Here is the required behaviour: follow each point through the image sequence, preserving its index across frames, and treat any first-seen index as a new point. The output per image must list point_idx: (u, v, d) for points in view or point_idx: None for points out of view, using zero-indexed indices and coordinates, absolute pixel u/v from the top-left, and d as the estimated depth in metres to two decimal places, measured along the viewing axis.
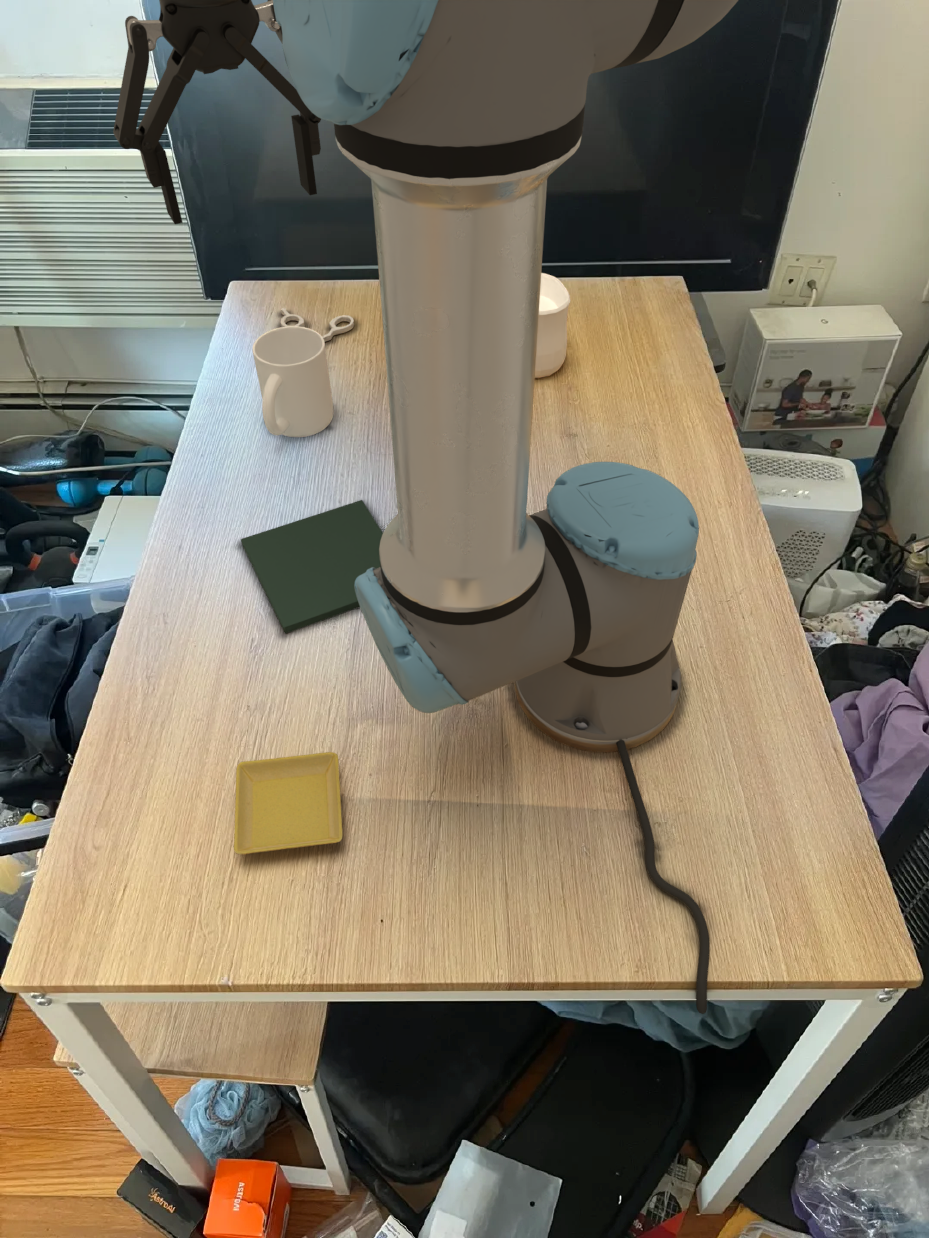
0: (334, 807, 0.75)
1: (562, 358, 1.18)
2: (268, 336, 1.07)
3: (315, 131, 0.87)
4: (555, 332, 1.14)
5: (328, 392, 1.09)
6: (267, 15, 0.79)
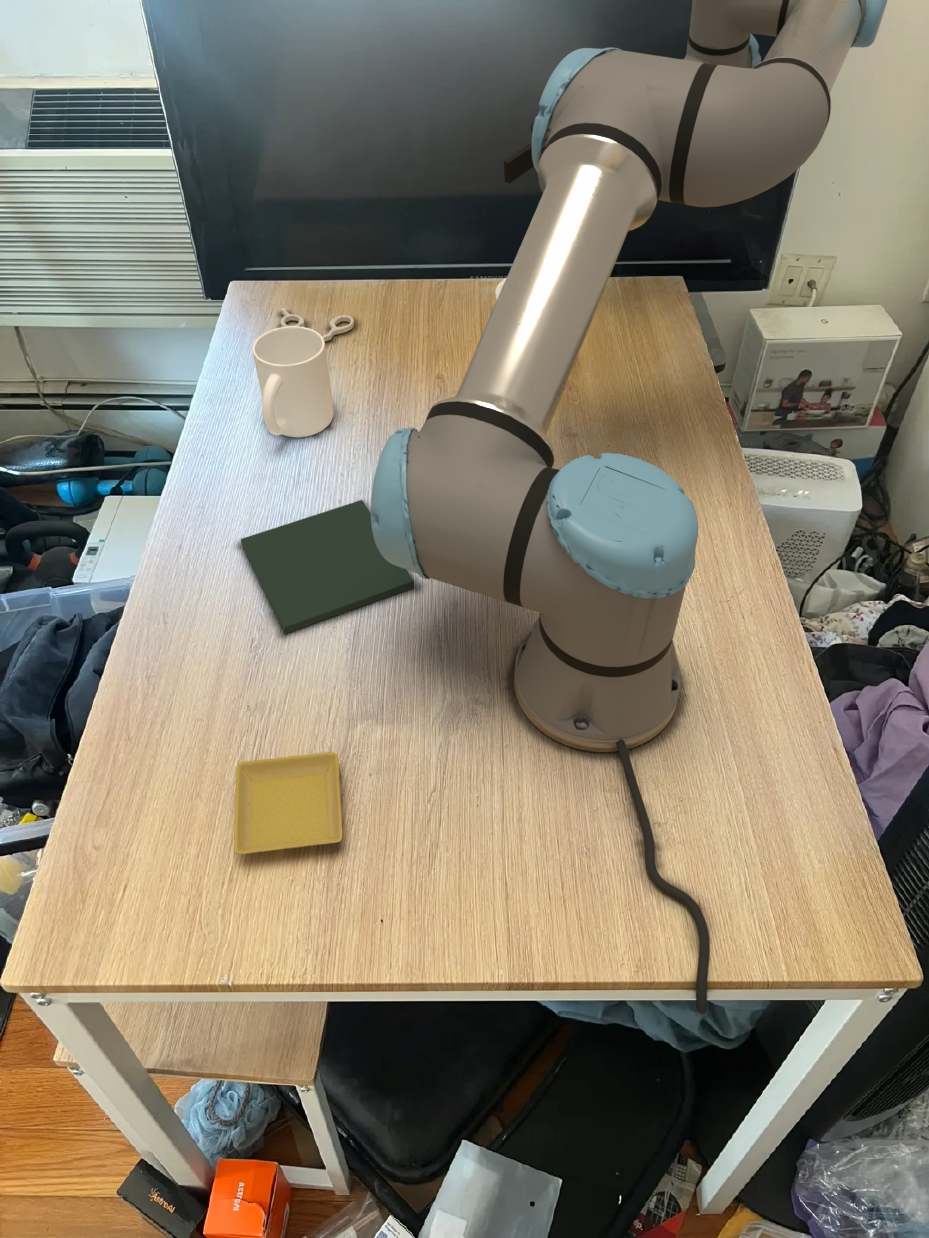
0: (334, 807, 0.75)
1: None
2: (268, 336, 1.07)
3: None
4: None
5: (328, 392, 1.09)
6: None
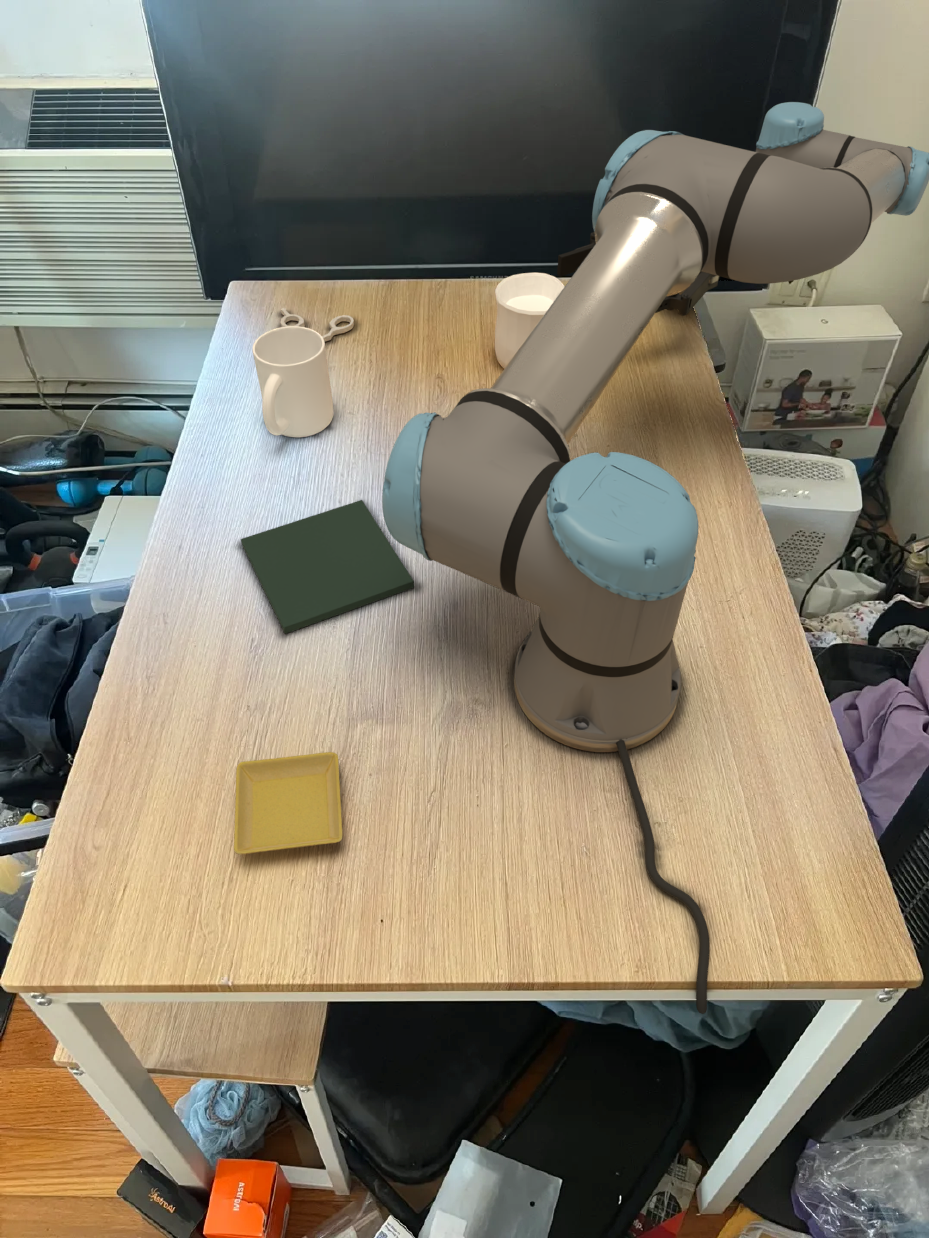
0: (334, 807, 0.75)
1: None
2: (268, 336, 1.07)
3: (663, 299, 1.15)
4: None
5: (328, 392, 1.09)
6: None
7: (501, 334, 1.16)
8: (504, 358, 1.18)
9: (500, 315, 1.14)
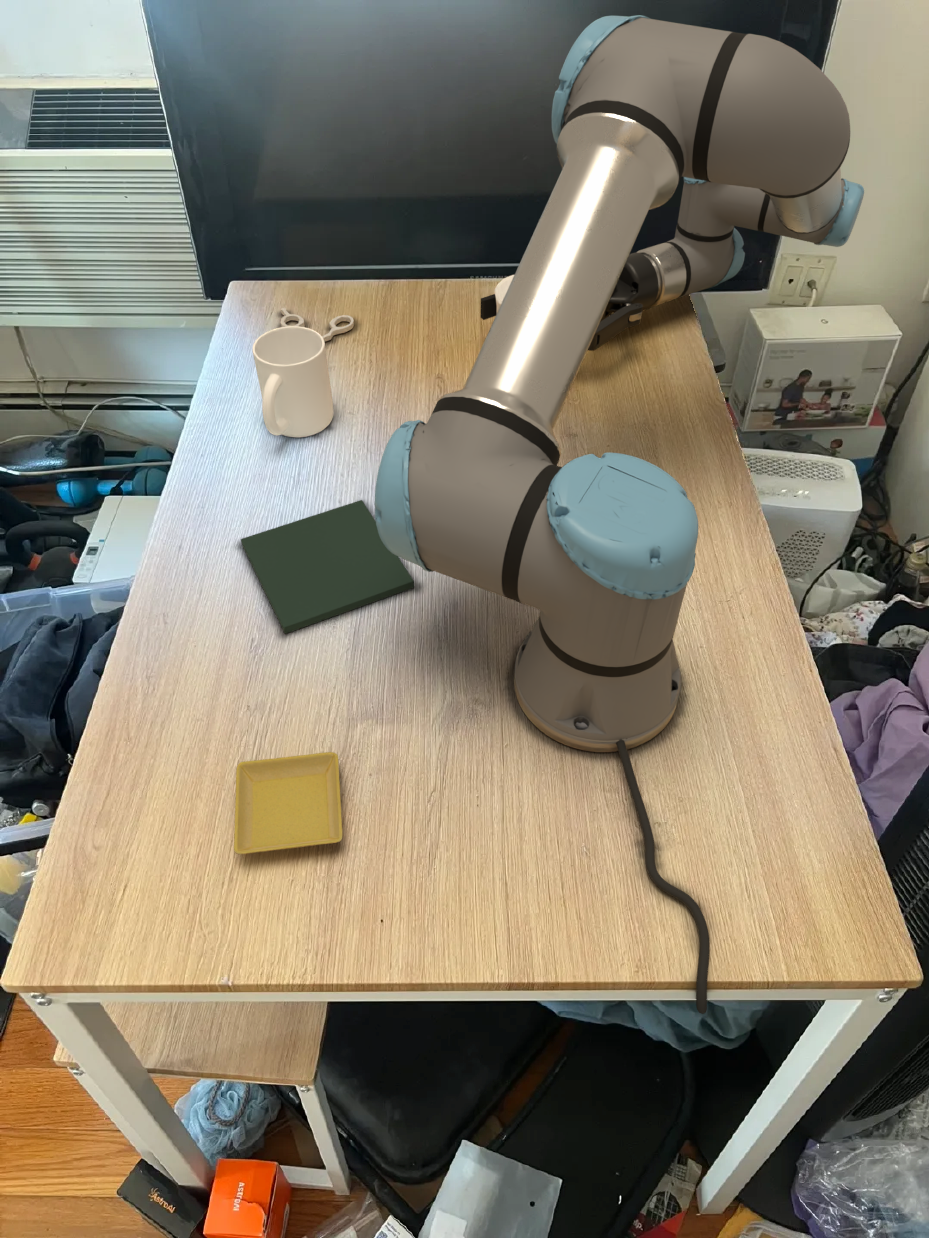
0: (334, 807, 0.75)
1: None
2: (268, 336, 1.07)
3: None
4: None
5: (328, 392, 1.09)
6: None
7: None
8: None
9: None
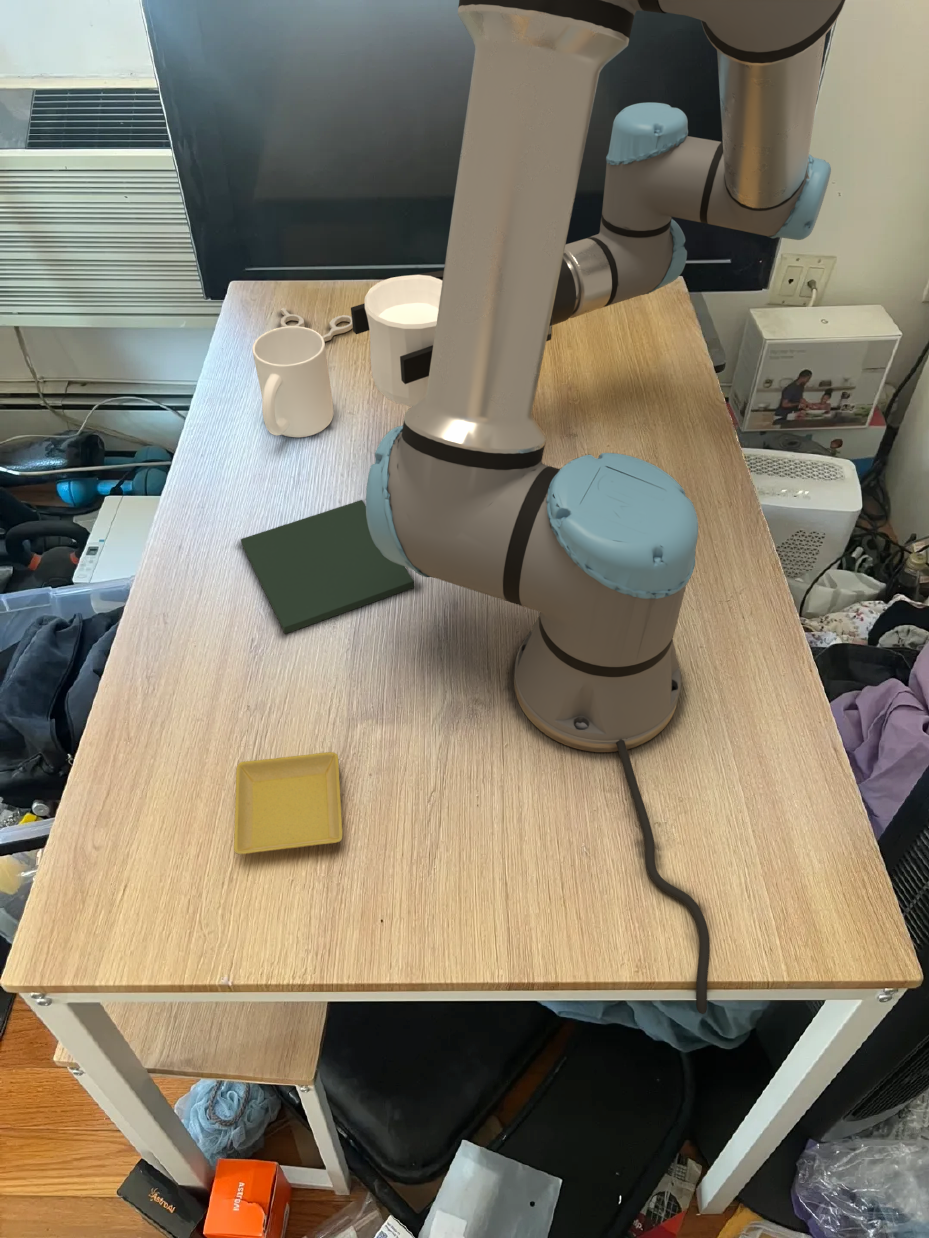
0: (334, 807, 0.75)
1: None
2: (268, 336, 1.07)
3: None
4: None
5: (328, 392, 1.09)
6: None
7: (374, 352, 0.92)
8: (379, 382, 0.94)
9: (371, 329, 0.90)
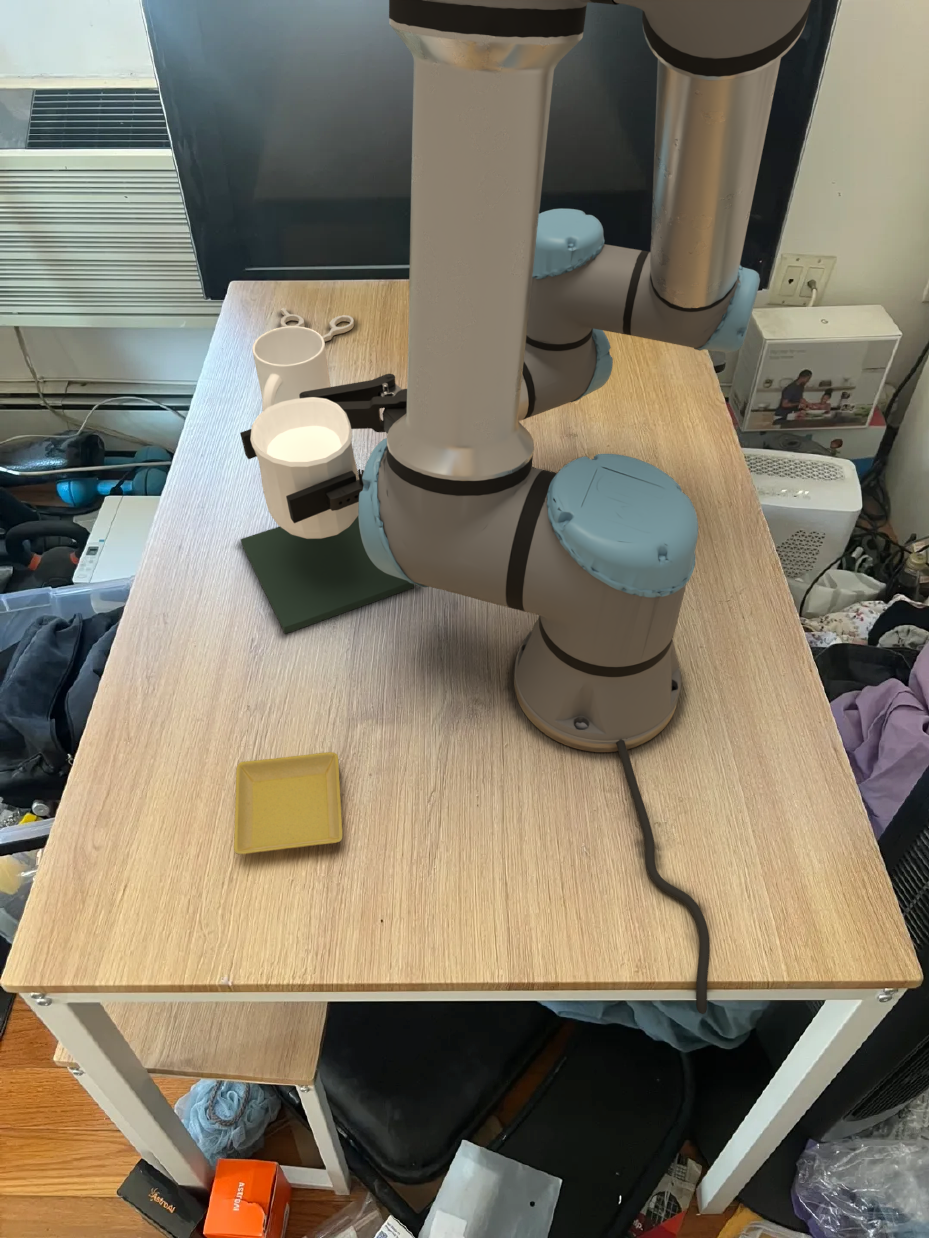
0: (334, 807, 0.75)
1: (352, 512, 0.87)
2: (268, 336, 1.07)
3: (350, 490, 0.82)
4: None
5: None
6: None
7: (264, 483, 0.85)
8: (272, 513, 0.87)
9: None
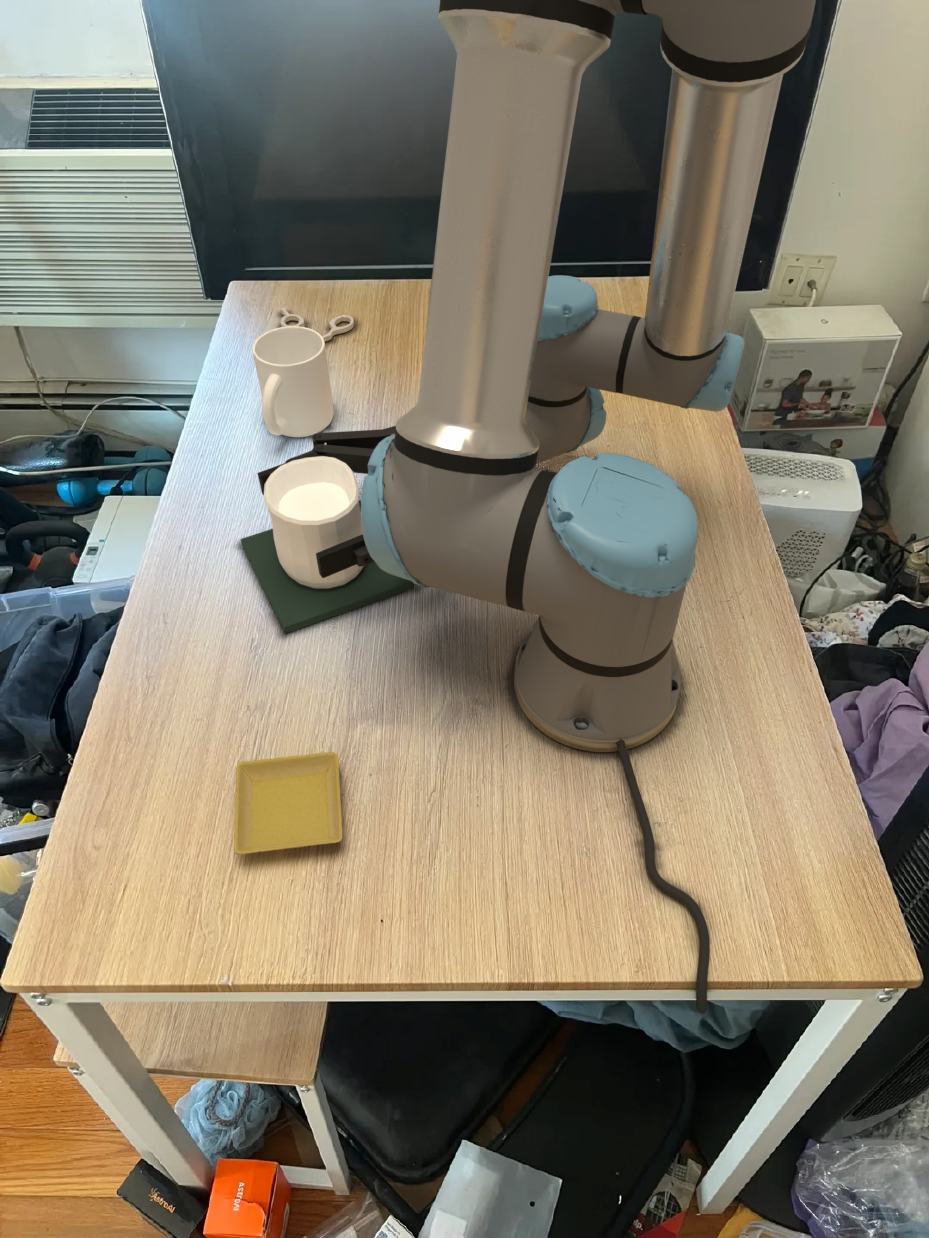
0: (334, 807, 0.75)
1: None
2: (268, 336, 1.07)
3: None
4: (340, 540, 0.88)
5: (328, 392, 1.09)
6: None
7: (276, 537, 0.90)
8: (283, 565, 0.92)
9: (271, 517, 0.88)
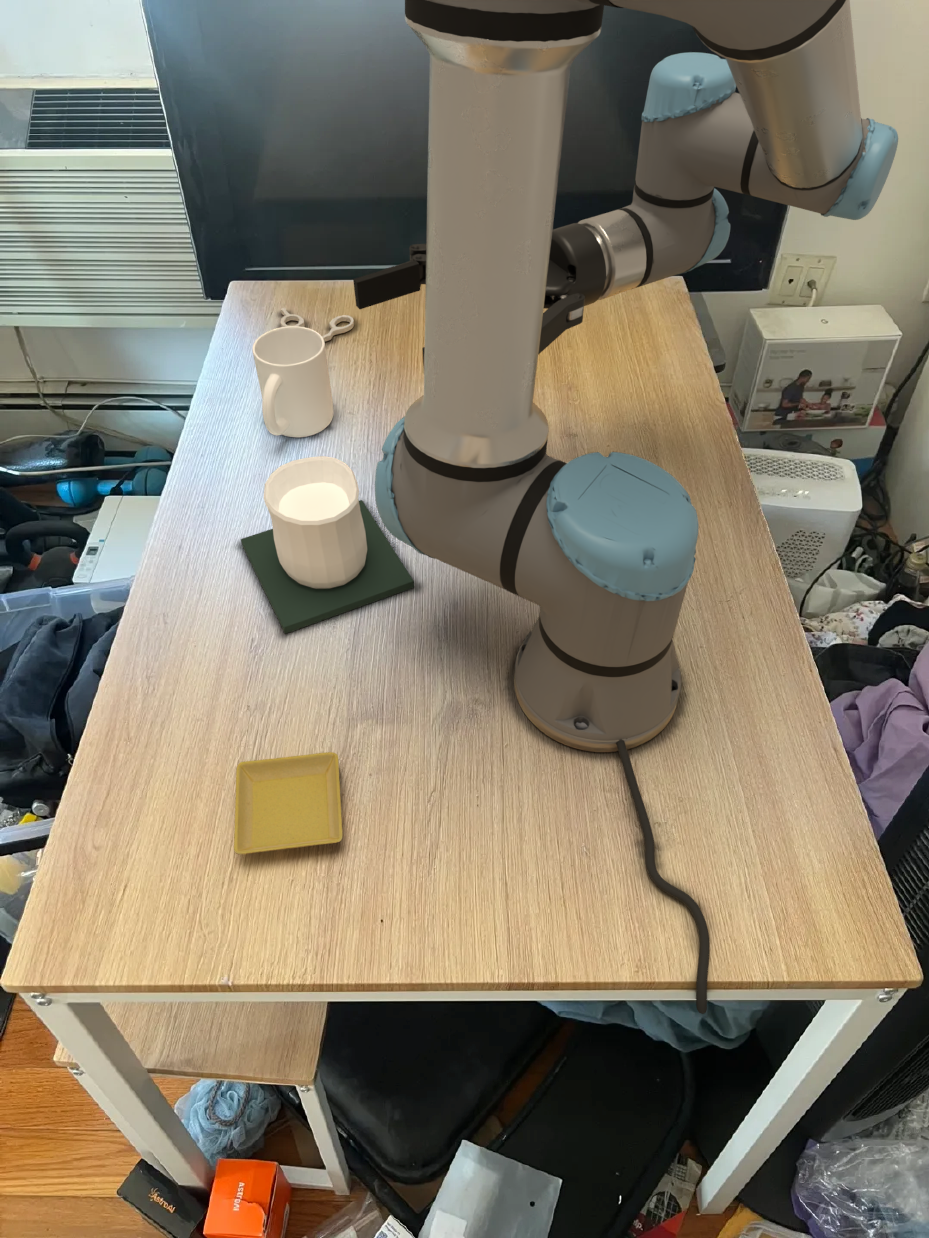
0: (334, 807, 0.75)
1: (358, 564, 0.92)
2: (268, 336, 1.07)
3: None
4: (340, 541, 0.88)
5: (328, 392, 1.09)
6: None
7: (276, 538, 0.90)
8: (283, 565, 0.92)
9: (271, 517, 0.88)
